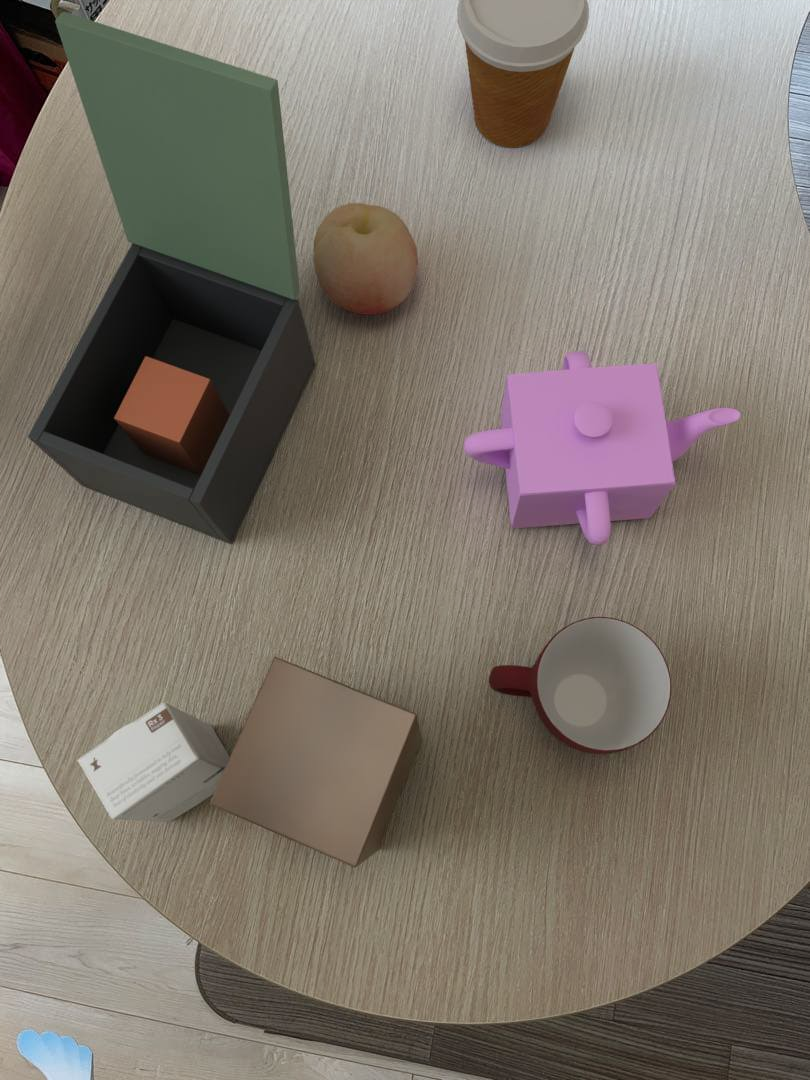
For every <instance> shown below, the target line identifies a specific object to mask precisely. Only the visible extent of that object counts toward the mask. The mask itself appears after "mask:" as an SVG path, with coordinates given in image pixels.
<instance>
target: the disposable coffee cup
mask: <svg viewBox="0 0 810 1080" xmlns="http://www.w3.org/2000/svg"><path fill="white" fill-rule="evenodd" d="M456 9H457V10H456V14H457V25H458V29H459V30H460V33H461V35H462V38H463V40H464V44H465V54H466V61H467V63H466V64H467V67H468V68H467V71H468V76H469V77H468V78H469V83H470V85H469V86H470V93H471V101H472V109H473V118H474V123H475V126H476V129H477V130H478V132H479V134H481V136H482V137H483V138H484V139H485V140H487V141H488V142H490V143H492V144H494V145H497V146H499V147H504V148H520V147H525V146H528V145H530V144H532V143H534V142H535V141H537V140H539V139H540V138H541V137H542V136H543V135H544V133H546V131H547V129H548V127H549V124H550V120H551V118H552V115H553V113H554V109H555V106H556V104H557V100H558V98H559V94H560V91H561V88H562V86H563V82H564V80H565V77H566V75H567V71H568V68H569V65H570V63H571V60H572V57H573V55H574V54H573V53H574V52H575V48H576V47H577V45H578V44H579V43H580V42H581V41H582V39H583V36H584V35H585V32H586V31H587V28H588V23H589V19H590V8H589V3H588V0H458V2H457V7H456Z"/></svg>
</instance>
